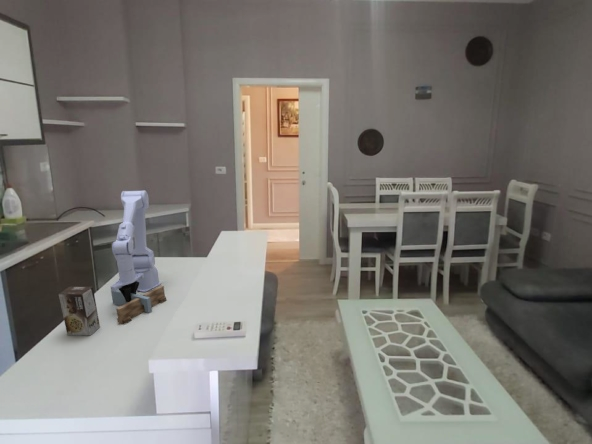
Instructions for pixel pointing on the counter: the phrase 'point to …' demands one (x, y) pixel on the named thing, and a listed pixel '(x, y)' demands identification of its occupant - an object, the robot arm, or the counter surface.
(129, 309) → the walnut slotted plate
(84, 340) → the counter surface
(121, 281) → the robot arm
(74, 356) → the counter surface
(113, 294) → the grey notched plate
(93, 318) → the coffee box
